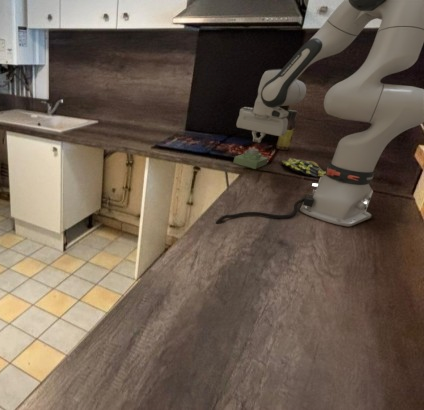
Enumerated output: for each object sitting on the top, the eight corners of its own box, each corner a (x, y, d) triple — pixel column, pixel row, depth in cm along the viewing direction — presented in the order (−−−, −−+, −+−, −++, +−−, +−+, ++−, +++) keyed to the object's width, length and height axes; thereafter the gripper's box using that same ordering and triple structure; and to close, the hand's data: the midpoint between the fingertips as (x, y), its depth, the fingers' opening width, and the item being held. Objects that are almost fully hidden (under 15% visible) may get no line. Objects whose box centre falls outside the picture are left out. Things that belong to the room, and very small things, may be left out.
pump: (255, 155, 155) (256, 150, 154) (246, 153, 158) (247, 148, 157) (259, 154, 158) (260, 149, 157) (250, 152, 160) (251, 147, 160)
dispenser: (255, 169, 153) (258, 157, 150) (233, 162, 159) (235, 152, 157) (266, 164, 160) (269, 153, 158) (245, 158, 167) (247, 148, 165)
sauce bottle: (290, 151, 185) (302, 112, 177) (277, 150, 186) (288, 111, 178) (286, 148, 191) (297, 110, 183) (274, 146, 192) (284, 109, 184)
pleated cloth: (276, 162, 167) (284, 149, 165) (311, 177, 164) (319, 164, 162) (286, 168, 148) (294, 153, 146) (325, 184, 145) (335, 170, 143)
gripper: (237, 106, 155) (230, 137, 161) (286, 114, 141) (277, 148, 147) (244, 105, 159) (237, 135, 165) (292, 113, 145) (283, 146, 151)
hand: (256, 141), depth 156 cm, fingers closed
